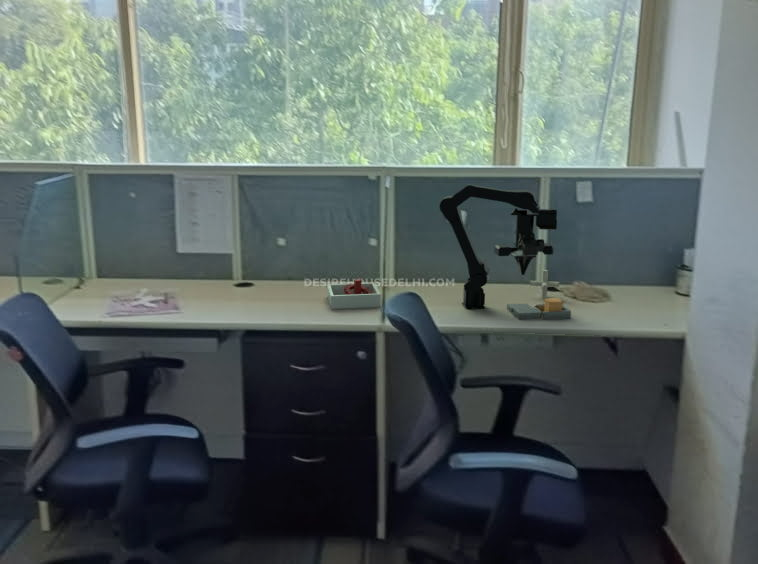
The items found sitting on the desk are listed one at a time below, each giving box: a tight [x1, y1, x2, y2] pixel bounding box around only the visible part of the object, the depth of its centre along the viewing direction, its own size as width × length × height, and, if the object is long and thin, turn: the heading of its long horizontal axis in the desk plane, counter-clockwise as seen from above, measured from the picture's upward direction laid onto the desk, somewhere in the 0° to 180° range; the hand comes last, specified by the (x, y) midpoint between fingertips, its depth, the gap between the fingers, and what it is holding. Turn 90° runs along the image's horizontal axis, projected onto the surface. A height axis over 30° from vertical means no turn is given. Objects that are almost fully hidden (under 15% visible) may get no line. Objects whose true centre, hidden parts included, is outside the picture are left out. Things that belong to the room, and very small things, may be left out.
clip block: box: [544, 297, 563, 311], centre depth 241 cm, size 5×4×4 cm
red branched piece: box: [344, 278, 372, 295], centre depth 257 cm, size 11×12×8 cm
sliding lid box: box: [512, 303, 572, 321], centre depth 241 cm, size 17×9×2 cm, turn 98°
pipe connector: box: [529, 269, 560, 299], centre depth 261 cm, size 10×10×10 cm
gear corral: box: [326, 282, 382, 310], centre depth 258 cm, size 17×16×4 cm
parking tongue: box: [506, 303, 532, 314], centre depth 247 cm, size 7×5×2 cm
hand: (522, 274), depth 245 cm, fingers closed
